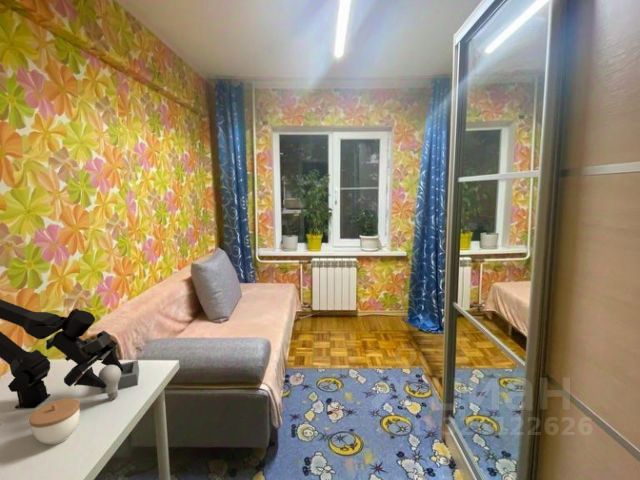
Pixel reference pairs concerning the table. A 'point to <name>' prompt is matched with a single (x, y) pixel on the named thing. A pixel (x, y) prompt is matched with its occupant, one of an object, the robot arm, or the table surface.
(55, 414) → the lidded jar
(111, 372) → the lightbulb
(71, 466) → the table surface
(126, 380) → the socket
